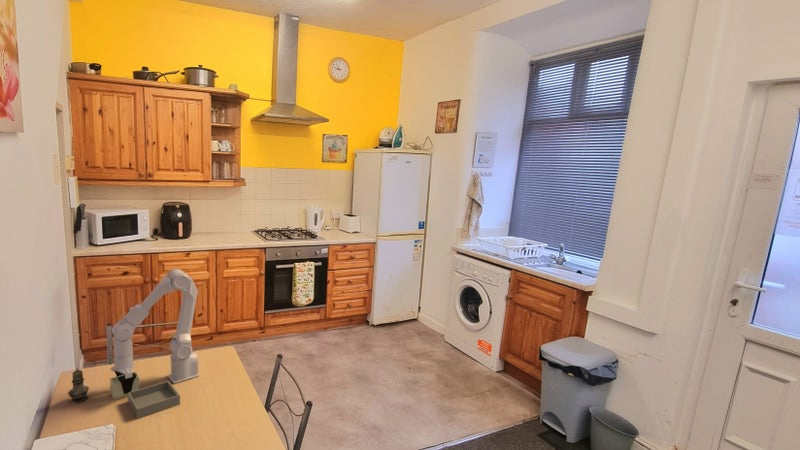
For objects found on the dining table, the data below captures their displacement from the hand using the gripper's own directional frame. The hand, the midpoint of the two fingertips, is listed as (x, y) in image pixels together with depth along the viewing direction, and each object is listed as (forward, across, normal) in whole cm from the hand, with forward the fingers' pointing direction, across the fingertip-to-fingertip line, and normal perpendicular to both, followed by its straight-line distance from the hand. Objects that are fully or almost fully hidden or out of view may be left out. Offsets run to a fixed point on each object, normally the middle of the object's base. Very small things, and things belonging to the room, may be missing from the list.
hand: (125, 388), depth 150 cm
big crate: (+2, +14, +6) cm, 15 cm away
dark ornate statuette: (+2, -5, -13) cm, 14 cm away
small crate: (+2, 0, 0) cm, 2 cm away
